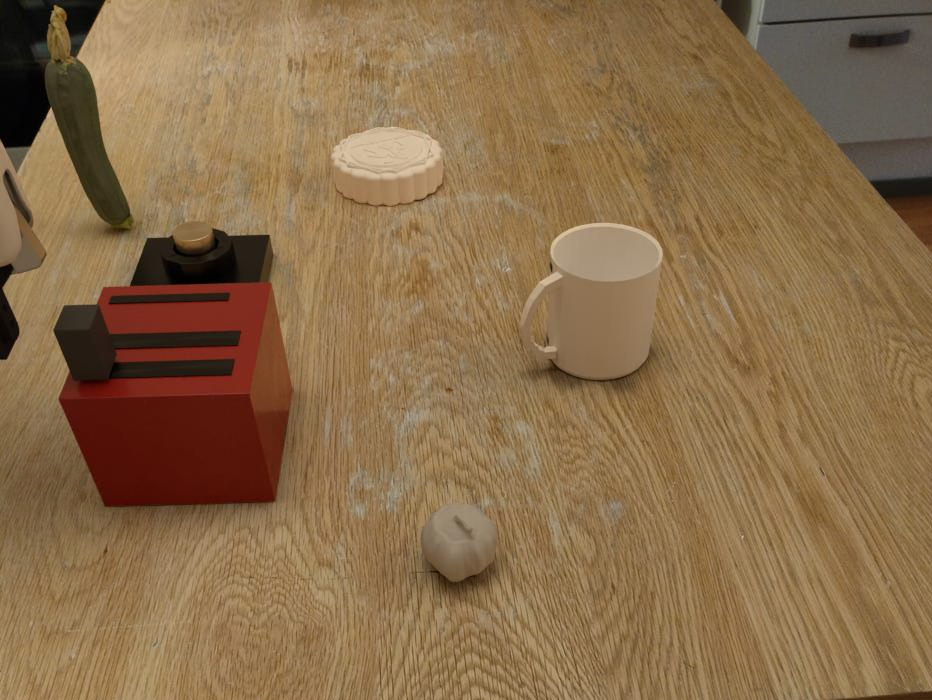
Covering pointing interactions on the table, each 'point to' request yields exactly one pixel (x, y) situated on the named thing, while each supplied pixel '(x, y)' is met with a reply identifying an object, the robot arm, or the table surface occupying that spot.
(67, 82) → the vegetable
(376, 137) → the mooncake
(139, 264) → the button block
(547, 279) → the mug
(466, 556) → the garlic
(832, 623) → the table surface
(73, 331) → the toaster slider
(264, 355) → the toaster
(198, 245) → the button
